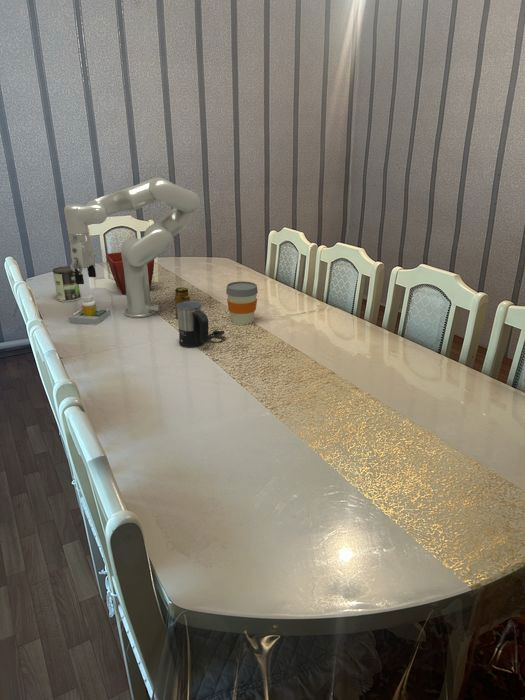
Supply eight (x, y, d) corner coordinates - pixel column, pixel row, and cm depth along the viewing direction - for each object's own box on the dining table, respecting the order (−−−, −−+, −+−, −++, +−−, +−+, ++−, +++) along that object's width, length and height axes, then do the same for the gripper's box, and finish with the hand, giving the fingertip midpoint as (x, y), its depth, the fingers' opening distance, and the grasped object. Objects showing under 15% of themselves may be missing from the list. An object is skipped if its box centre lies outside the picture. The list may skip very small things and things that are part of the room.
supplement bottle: (93, 321, 211) (90, 298, 207) (81, 320, 212) (78, 297, 208) (100, 317, 216) (97, 294, 212) (88, 316, 217) (84, 294, 213)
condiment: (186, 312, 221) (184, 285, 216) (197, 317, 215) (195, 290, 210) (171, 316, 217) (169, 288, 212) (181, 321, 211) (179, 293, 206)
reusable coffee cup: (244, 328, 203) (244, 292, 197) (220, 322, 210) (219, 286, 204) (264, 320, 212) (264, 284, 206) (240, 313, 219) (239, 279, 213)
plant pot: (109, 287, 256) (105, 253, 249) (148, 282, 263) (145, 249, 256) (117, 297, 240) (112, 262, 233) (157, 292, 247) (154, 257, 240)
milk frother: (173, 344, 189) (170, 306, 183) (198, 330, 201) (196, 294, 196) (206, 352, 183) (204, 312, 177) (229, 337, 195) (228, 299, 189)
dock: (110, 315, 218) (109, 307, 217) (96, 325, 207) (95, 317, 206) (84, 313, 220) (83, 305, 219) (69, 323, 209) (68, 315, 208)
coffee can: (84, 295, 243) (79, 265, 237) (76, 302, 234) (71, 271, 228) (62, 295, 243) (57, 265, 238) (53, 302, 234) (48, 271, 228)
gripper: (76, 242, 192) (84, 287, 199) (98, 233, 207) (105, 274, 214) (58, 242, 193) (66, 286, 200) (81, 232, 209) (88, 274, 216)
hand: (86, 280), depth 207 cm, fingers open, 9 cm apart
